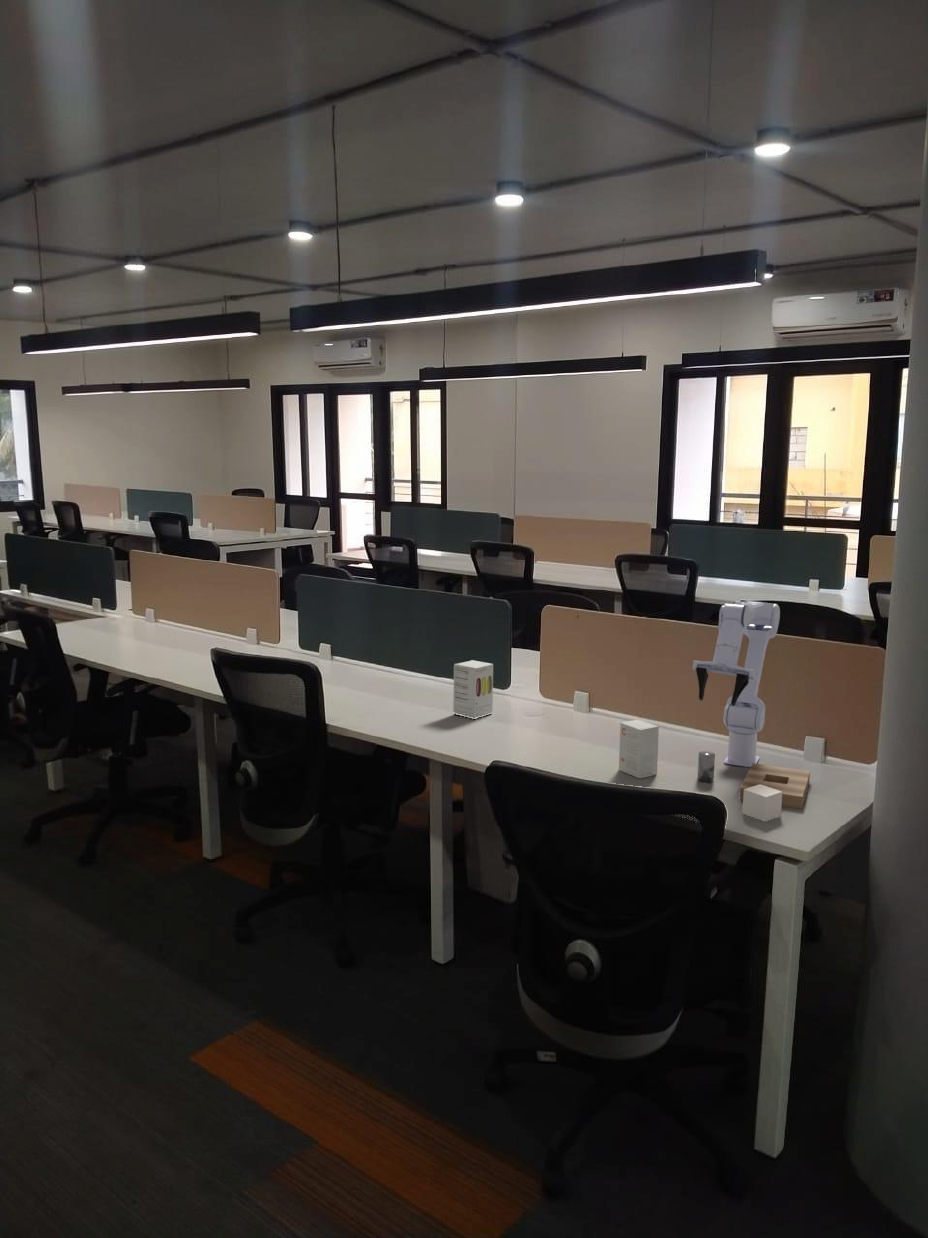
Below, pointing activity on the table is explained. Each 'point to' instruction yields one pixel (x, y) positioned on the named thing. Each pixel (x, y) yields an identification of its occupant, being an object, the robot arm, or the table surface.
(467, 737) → the table surface
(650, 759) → the small box
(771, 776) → the wooden socket block
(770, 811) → the white cube
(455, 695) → the supplement box
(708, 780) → the steel pin
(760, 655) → the robot arm
